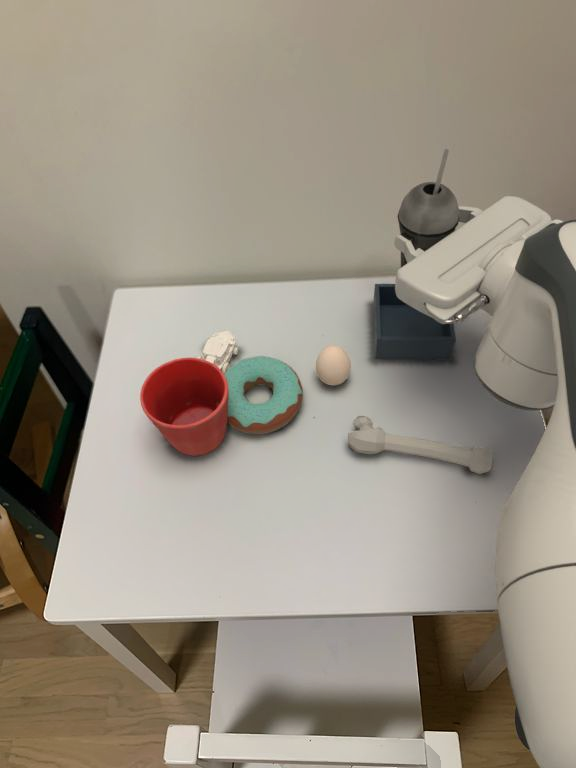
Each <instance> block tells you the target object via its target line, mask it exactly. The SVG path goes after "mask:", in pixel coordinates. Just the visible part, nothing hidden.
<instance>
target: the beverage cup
mask: <svg viewBox="0 0 576 768" xmlns="http://www.w3.org/2000/svg"><path fill="white" fill-rule="evenodd" d="M449 153H450V150H449V149H448V148H445V149H444V150H443V154H442V158H441V161H440V165H439V169H438V172H437V177H436V181H425V182H422V183H420V184H418V185H416V186H414V187H413V188H411V189H410V190H409V191H408V192H407V194H405V196H404V197H403V198H402V201H401V204H400V207H399V210H398V213H397V216H396V218H397V221H398V227H399V235H400V234H401V233H403V232H406V233H407V234H408V235H410V236H412V237H414V242H413V244H414V246H413V247H414V249H415V250H417V249H418V248H420V249H421V250H423V251H426V250H428V249H429V248H430V247H432V246H433V245H435V244H436V243H438V242H439V241H441V240H442V239H444V238H445V237H446V236H448V235H449V234H451V233H452V232H454V231H455V230H457V228H458V227H457V226H458V225H459V223H460V222H459V207H458V205H459V204H458V199H457V197H456V195H455V193H453V191H452V190H451V189H450V188H449V187H448V186H447V185H445V184H443V183H442V179H443V175H444V171H445V169H446V168H445V167H446V163H447V160H448V156H449ZM406 264H407V261H406V258H405V256H404V253H402V252H401V251H400V268H401V267H403V266H404V265H406Z"/></svg>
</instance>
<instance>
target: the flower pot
mask: <svg viewBox="0 0 576 768" xmlns="http://www.w3.org/2000/svg"><path fill="white" fill-rule="evenodd" d="M228 399H229V387H228V382H227V379H226V377H225V375H224V373H223V372H222V371H221V370H220V369H219V368H218V367H217V366H216V365H214V364H213V363H211V362H209V361H206V360H203V359H199V358H197V357H180V358H175V359H173V360H169V361H167V362H165V363H163V364H161V365H159V366H157V367H156V368H155V369H153V371H151V372H150V374H149V375H148V376H147V377H146V378H145V380H144V382H143V384H142V385H141V388H140V394H139V400H140V406H141V408H142V410H143V412H144V414H145V415H146V416H147V418H148V419H149V420H150V422H151V423H152V424H153V425H154V427H155V428H156V429H157V431H158V432H159V433H160V434H161V435H162V436H163V437H164V438H165V439H166V440H167V442H168V443H169V444H170V445H171V446H172V447H173V448H174V449H175V450H177V452H180V453H181V454H183V455H186V456H187V455H188V456H195V457H196V456H202V455H206V454H208V453H211V452H212V451H214V450H216V449H217V448H218V447H219V446H220V445H221V443H222V442H223V440H224V439H225V437H226V433H227V425H228V423H227V417H228ZM217 402H218V403H220V404H219V406H218V407H217Z"/></svg>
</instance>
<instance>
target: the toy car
mask: <svg viewBox="0 0 576 768" xmlns="http://www.w3.org/2000/svg"><path fill="white" fill-rule="evenodd" d="M235 345H236V338H235V336H234V334H233V333H232V332H231V331H230V330H223V331H220V332H217V333H213V334H212V336H211V337H210V338H208V339H207V340H206V342H205V344H204V346H203V348H202V349H203V350H202V351H201V352H202V354H200V355H198V356H197V357H196V358H199V359H203V360H206V361H209V362H211V363H213V364H214V365H216V366H217V367H218V368H219V369H220V370H221V371H222V372H223V373H225V372H226V371H227V370H228V369H229V368H230V367H231V364H230V363H229V362H230V361H231V359H232V357H233V355H237V354H238V352H239V348H238V347H237V346H235Z"/></svg>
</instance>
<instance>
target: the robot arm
mask: <svg viewBox="0 0 576 768" xmlns="http://www.w3.org/2000/svg"><path fill="white" fill-rule="evenodd" d="M458 207H459V223H463V225H461V226H459V227H457V228H456V229H455V231H454V232H452V233H451V234H449V235H448V236H446V237H445V238H444V239H442V240H441V241H439V242H438V243H436V244H435V245H433V246H432V247H430V248H429V249H428V250H426V251H423V250H421V249H420V248H418V249H417V250H415V249H414V247H413V246H414V244H413V242H414V237H412V236H410V235H408V234H407V233H406V232H403V233H401V234H400V233H399V234H398V235H396V237H394V247H395V249H397V250H398V251H400V253H401V252H402V253H404V256H405V258H406V261H407V264H406V265H404V266H403V267H401V266H400V268H398V270H397V271H396V275H395V282H394V284H395V292H396V296H397V297H398V298H399V299H400V300H401V301H403V302H404V303H406V304H408V305H409V306H411V307H413V308H414V309H416V310H418V311H420V312H422V313H423V314H425V315H427V316H430V317H432V318H433V319H435V320H436V321H437V322H439V323H441V324H452V323H454V324H455V323H456V324H462V323H463V322H465V321H466V320H468V319H469V317H470V316H471V315H473V314H474V313H476V312H478V311H479V310H480V309H481V310H483V311H484V312H485V313H487V315H490V316H491V319H490V321H489V324H488V326H487V328H486V330H485V332H484V335H483V337H482V338H481V341H480V343H479V345H478V348H477V350H476V354H475V357H474V360H473V370H474V372H475V375H476V377H477V379H478V381H479V383H480V384H481V385H482V387H483V388H484V389H485V390H486V391H487V392H488V393H489V394H490V395H491V396H492V397H493V398H495V399H496V400H497V401H499V402H501V403H503V404H505V405H506V406H509V407H511V408H515V409H518V410H522V411H529V412H530V411H531V412H533V411H543V410H547V409H551V408H553V409H552V412H551V414H550V417H549V419H548V423H547V425H546V427H545V430H544V432H543V434H542V436H541V438H540V440H539V443H538V445H537V447H536V448H535V450H534V452H533V455H532V456H531V458H530V460H529V462H528V463H527V465H526V467H525V469H524V471H523V472H522V474H521V476H520V477H519V480H518V482H517V483H516V485H515V487H514V488H513V490H512V492H511V494H510V495H509V498H508V499H507V502H506V504H505V506H504V507H503V510H502V513H501V516H500V520H499V523H498V524H499V525H498V531H497V538H496V545H495V556H494V585H495V593H496V603H497V613H498V620H499V630H500V636H501V642H502V647H503V653H504V659H505V664H506V668H507V672H508V678H509V682H510V683H509V684H510V686H511V690H512V694H513V698H514V701H515V706H516V709H517V713H518V717H519V720H520V723H521V727H522V729H523V732H524V737H525V740H526V743H527V746H528V748H529V751H530V753H531V755H532V757H533V758H534V760H535V762H536V764H537V765H538V767H539V768H576V219H569V220H565V221H563V220H561V219H554V220H553V219H552V217H551V214H549V213H548V212H547V211H545V210H543V209H541V207H538V206H537V205H535V204H534V203H531V202H529V201H528V200H526V199H524V198H522V197H519V196H513V195H505V196H503V197H502V198H500V199H499V200H497V201H496V202H494V203H493V204H491V205H490V206H489V207H487V208H486V209H485V210H482V209H481V208H479V207H472V206H464V205H461V206H460V205H459V204H458ZM452 319H453V320H452Z"/></svg>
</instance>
